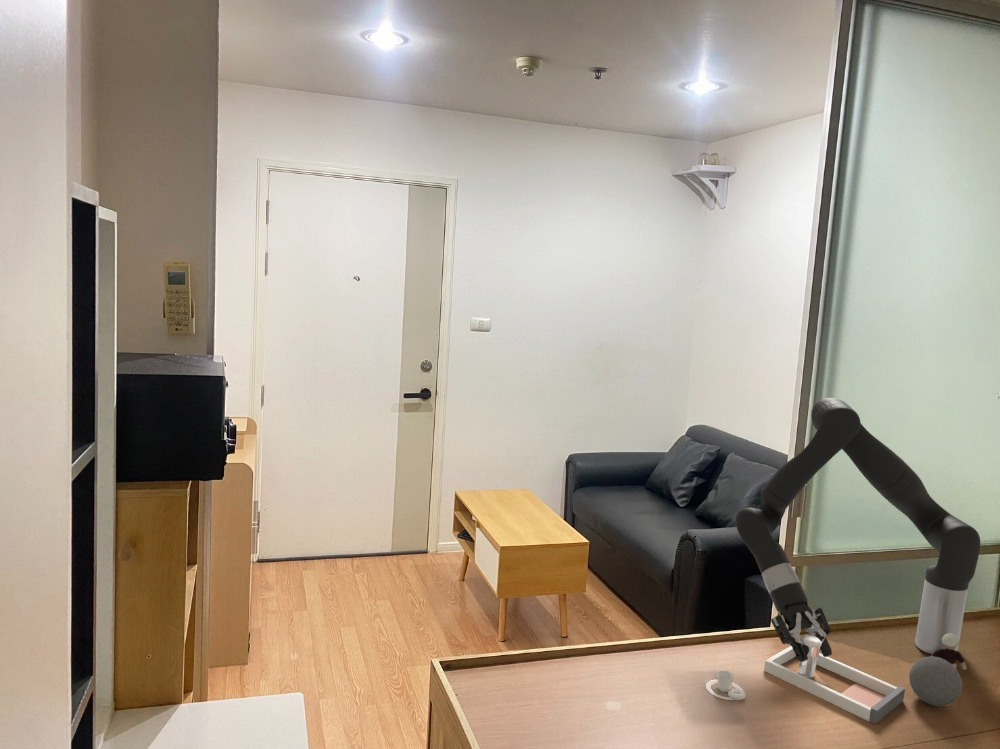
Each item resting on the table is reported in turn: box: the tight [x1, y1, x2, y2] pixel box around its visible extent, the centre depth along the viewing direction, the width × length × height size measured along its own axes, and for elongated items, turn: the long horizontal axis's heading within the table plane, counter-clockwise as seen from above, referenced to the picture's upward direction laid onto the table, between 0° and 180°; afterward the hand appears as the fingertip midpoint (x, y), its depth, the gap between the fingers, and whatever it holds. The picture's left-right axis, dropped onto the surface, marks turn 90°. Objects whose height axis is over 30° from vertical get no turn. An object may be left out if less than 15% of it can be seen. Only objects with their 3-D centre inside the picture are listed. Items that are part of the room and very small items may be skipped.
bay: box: [763, 645, 906, 725], centre depth 174 cm, size 14×25×3 cm, turn 41°
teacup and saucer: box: [705, 669, 747, 701], centre depth 169 cm, size 9×8×4 cm
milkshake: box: [798, 634, 827, 679], centre depth 177 cm, size 4×5×10 cm
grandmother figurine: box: [931, 633, 967, 671], centre depth 176 cm, size 8×4×13 cm, turn 89°
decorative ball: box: [908, 655, 963, 707], centre depth 169 cm, size 10×10×10 cm
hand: (816, 658), depth 176 cm, fingers open, 6 cm apart
